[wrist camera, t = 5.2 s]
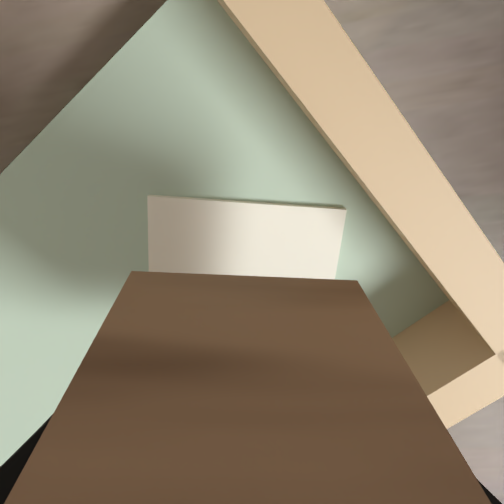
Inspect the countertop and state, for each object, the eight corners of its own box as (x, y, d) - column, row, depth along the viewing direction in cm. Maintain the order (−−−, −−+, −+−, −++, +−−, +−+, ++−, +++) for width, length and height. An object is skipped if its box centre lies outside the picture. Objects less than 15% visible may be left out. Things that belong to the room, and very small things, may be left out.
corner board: (491, 286, 16) (569, 357, 12) (132, 521, 21) (108, 625, 17) (239, -64, 12) (240, -122, 8) (-146, 335, 16) (-264, 419, 13)
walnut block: (329, 451, 12) (414, 789, 6) (138, 447, 11) (45, 796, 6) (357, 280, 10) (511, 539, 4) (131, 270, 10) (-13, 533, 4)
